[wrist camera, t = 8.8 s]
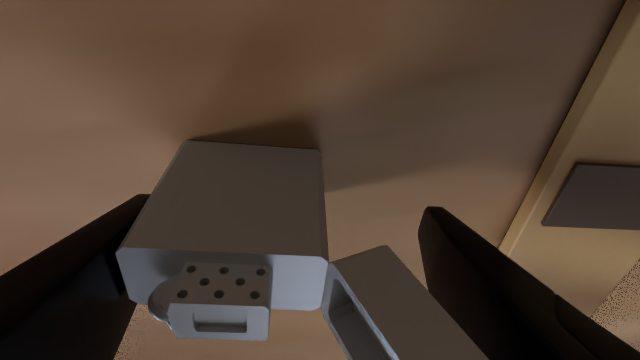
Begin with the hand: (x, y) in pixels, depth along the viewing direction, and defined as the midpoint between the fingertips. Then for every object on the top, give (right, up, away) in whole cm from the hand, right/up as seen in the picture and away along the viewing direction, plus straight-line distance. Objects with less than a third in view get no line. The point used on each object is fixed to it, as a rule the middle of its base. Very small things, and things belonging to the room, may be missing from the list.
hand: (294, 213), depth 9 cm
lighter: (0, +1, +2) cm, 2 cm away
